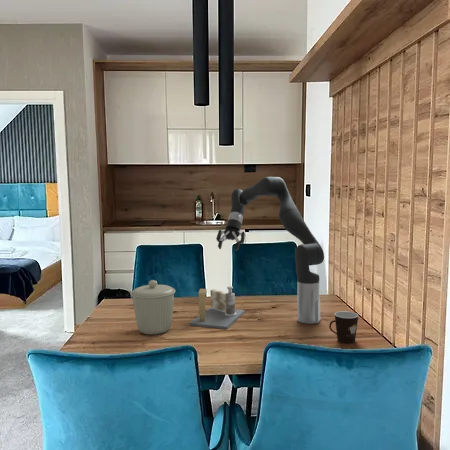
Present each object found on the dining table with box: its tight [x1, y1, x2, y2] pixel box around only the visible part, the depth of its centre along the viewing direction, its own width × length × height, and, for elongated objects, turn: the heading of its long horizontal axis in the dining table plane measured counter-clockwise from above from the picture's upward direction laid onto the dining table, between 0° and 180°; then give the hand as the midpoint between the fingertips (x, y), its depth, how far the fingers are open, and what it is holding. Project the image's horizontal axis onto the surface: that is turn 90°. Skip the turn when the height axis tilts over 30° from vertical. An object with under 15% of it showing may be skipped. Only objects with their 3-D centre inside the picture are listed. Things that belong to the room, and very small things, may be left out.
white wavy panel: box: [209, 288, 236, 314], centre depth 204 cm, size 15×4×9 cm, turn 40°
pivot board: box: [188, 285, 246, 330], centre depth 198 cm, size 17×24×14 cm
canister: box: [130, 279, 176, 335], centre depth 184 cm, size 18×18×21 cm
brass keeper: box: [198, 288, 208, 321], centre depth 196 cm, size 8×3×13 cm, turn 178°
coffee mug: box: [328, 310, 359, 345], centre depth 168 cm, size 12×9×10 cm
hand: (227, 249), depth 227 cm, fingers open, 8 cm apart
